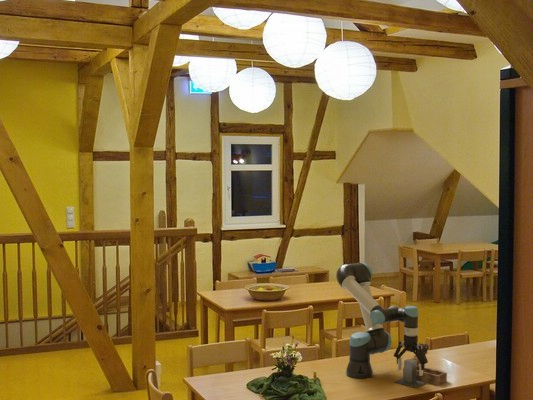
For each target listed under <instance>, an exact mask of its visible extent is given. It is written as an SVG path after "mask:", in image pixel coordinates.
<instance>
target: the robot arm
mask: <svg viewBox="0 0 533 400" xmlns="http://www.w3.org/2000/svg"><path fill="white" fill-rule="evenodd" d="M335 274H336V275H335V276H336V281H337V283H338V285H339V286H340V287H341V288H342V289H343V290H346V291H347V292H348V293H349V294H350V295H351V297H353V298H354V299H355V300H356V301H357V302H358V304H359V308H360V311H361V315H362V319H363V322H364V325H365V330H364V331H361V332H360V331H358V332H354V333H352V334H350V336H349V359H348V360H349V361H348V364H347V367H346V371H345V374H346V376H348V377H350V378H354V379H369V378H371V377H373V376H374V371H373V368H372V365H371V355H375V354H383V353H385V352H387V351H389V350H390V349H391V346H392V343H393V340H392V336H391V334H390V333H389V332H388V331H386V330H385V328H384V326H383V325H382V324H386V323H392V322H393V323H394V322H401V323H402V322H403V340H400V341H398V345H397V347H396V350H395V352H394V353H393V357H394V358H396V364H397V371H398V372H400V371H403V368H402V367H403V366H402V365H403V364H402V363H403V361H402V359H403V358H402V356H403V355H404V354H405V353H406V352H409V353H410V352H411V353H413V354H414V356H415V355H416V357H417V358H418V360H419V361H420V363H421V364H419V376H422V375H423V370H424V367H425V365H426V364H428V363H429V361H428V358H427V356H426V355H427V354H425V353H424V350H423V345H419V343H418V342H419V337H418V336H419V308H418V307H417V306H415V305H406V306H404V307H400V306H398V305H390V306H389V307H388V308H384V307H382V305H380V303H378V301H376V300H375V299H374V297H373V294H372V292H371V291H372V290H371V288H370V285H371V284H372V282H371V280H372V279H373V270H372V267H370V265H369V264H367V263H365V262H353V263H349V264H348V263H345V264H343V265H340V266H339V267H338V268H337V271H336V273H335ZM403 347H404V348H403ZM417 348H418V349H419V351H418V349H417ZM419 352H420V353H419ZM425 368H426V367H425Z"/></svg>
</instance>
